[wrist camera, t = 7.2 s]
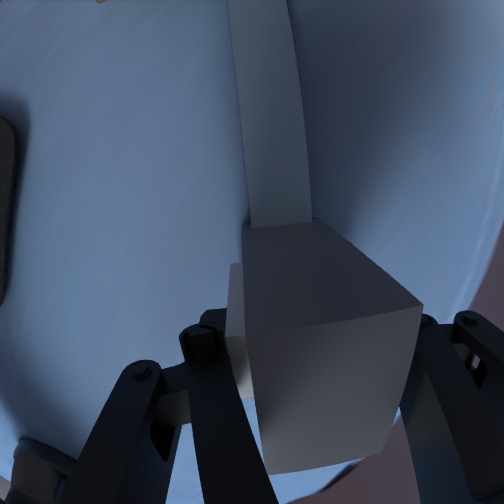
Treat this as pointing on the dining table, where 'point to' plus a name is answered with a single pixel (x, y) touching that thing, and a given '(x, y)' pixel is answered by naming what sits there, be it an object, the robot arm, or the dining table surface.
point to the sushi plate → (6, 191)
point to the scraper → (308, 278)
